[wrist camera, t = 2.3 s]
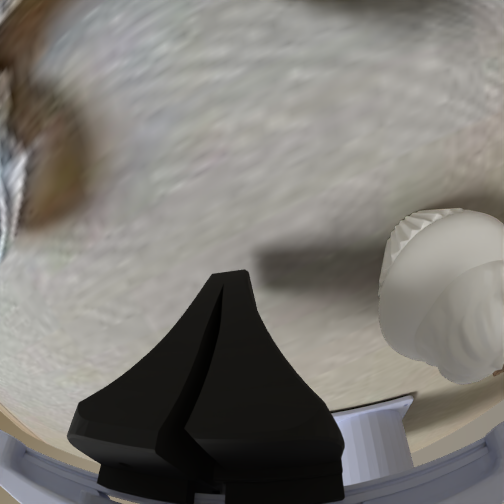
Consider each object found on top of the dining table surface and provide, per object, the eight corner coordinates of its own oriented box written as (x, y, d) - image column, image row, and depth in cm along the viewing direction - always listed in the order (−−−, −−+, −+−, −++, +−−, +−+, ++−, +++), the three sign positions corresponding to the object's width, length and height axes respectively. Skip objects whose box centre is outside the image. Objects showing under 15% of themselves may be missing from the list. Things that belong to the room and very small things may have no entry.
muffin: (485, 201, 10) (584, 294, 4) (431, 303, 13) (486, 412, 7) (384, 155, 9) (519, 263, 3) (331, 287, 12) (370, 436, 7)
